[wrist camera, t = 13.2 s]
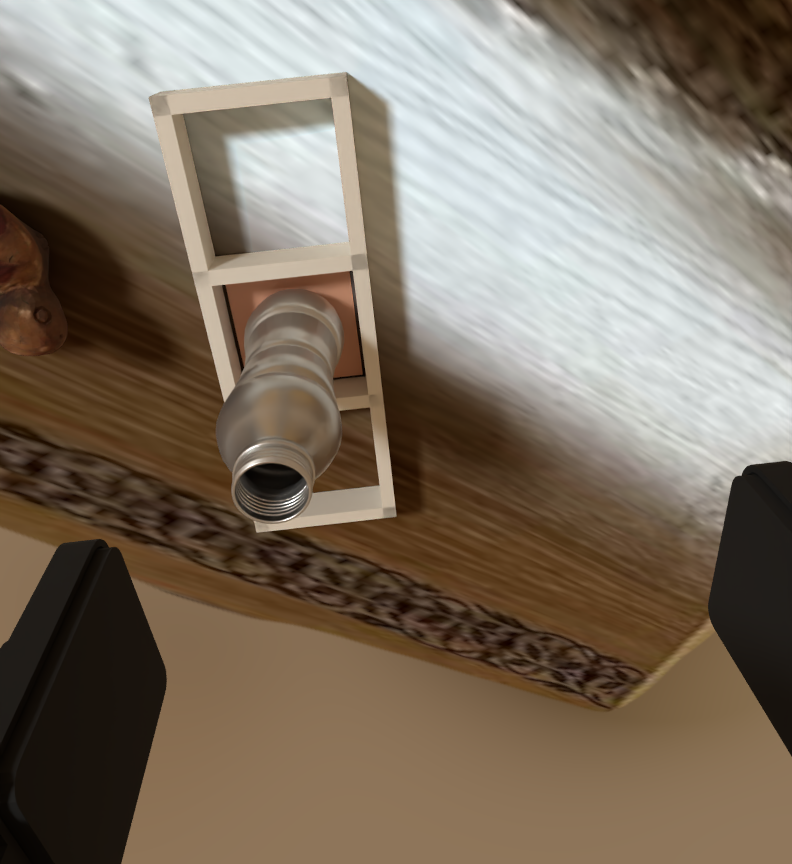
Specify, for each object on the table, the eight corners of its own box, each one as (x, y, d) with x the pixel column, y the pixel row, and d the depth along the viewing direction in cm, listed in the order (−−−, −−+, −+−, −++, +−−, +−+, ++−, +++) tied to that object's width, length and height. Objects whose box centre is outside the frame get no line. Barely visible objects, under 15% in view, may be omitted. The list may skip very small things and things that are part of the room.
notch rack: (160, 91, 41) (148, 97, 39) (346, 71, 41) (346, 76, 39) (260, 509, 57) (256, 532, 55) (394, 494, 57) (396, 516, 55)
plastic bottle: (361, 337, 50) (372, 508, 33) (282, 382, 51) (253, 568, 34) (311, 261, 47) (294, 405, 29) (228, 310, 48) (166, 476, 31)
